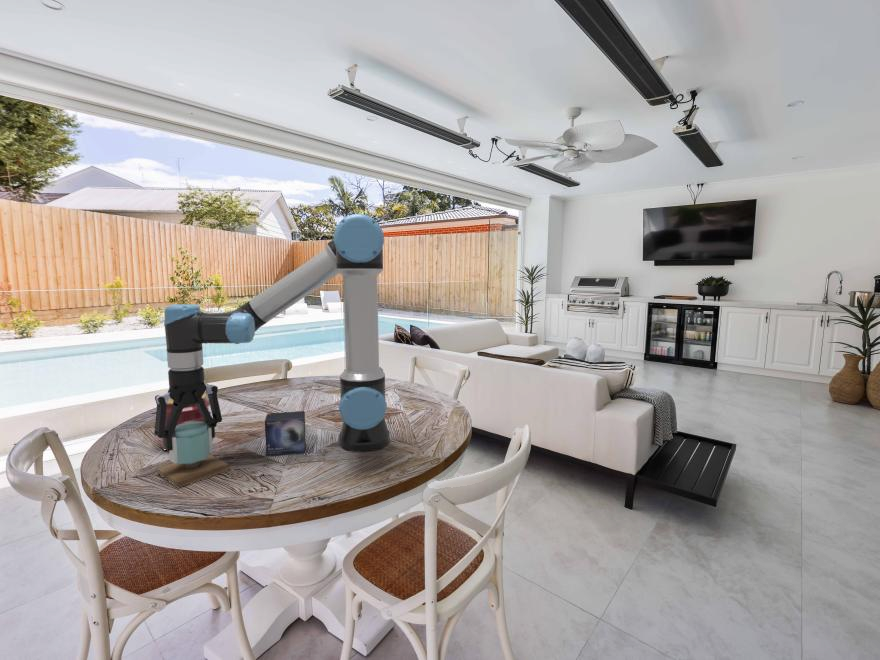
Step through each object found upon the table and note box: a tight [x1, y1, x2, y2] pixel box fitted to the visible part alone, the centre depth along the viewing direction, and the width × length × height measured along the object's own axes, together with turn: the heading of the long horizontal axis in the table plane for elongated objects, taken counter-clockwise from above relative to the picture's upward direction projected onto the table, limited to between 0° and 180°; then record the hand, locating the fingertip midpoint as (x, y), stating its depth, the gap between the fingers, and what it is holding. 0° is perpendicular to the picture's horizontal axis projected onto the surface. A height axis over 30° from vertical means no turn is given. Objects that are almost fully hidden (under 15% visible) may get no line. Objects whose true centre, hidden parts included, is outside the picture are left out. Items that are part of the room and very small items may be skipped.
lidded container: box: [173, 421, 211, 464], centre depth 106 cm, size 8×8×8 cm
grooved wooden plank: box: [156, 453, 230, 488], centre depth 106 cm, size 12×12×8 cm
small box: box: [264, 410, 307, 457], centre depth 120 cm, size 11×6×10 cm, turn 106°
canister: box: [160, 392, 212, 449], centre depth 123 cm, size 13×13×18 cm
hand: (191, 455), depth 106 cm, fingers closed on lidded container, 7 cm apart
